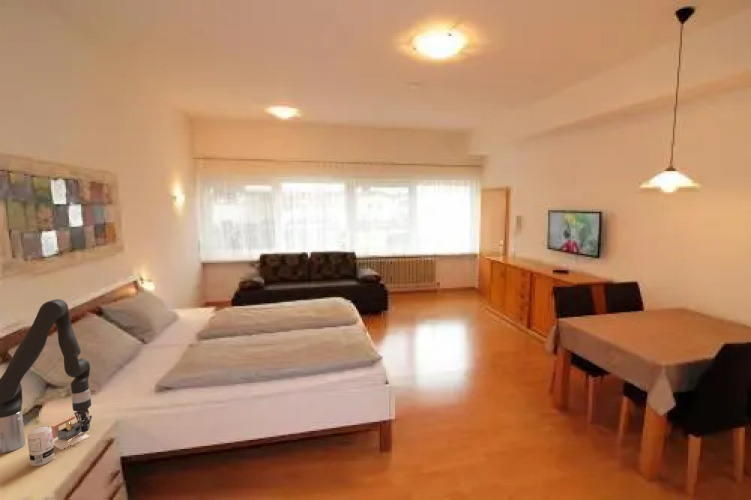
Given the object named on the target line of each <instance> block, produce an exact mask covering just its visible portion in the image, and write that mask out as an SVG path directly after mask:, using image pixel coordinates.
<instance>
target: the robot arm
mask: <svg viewBox="0 0 751 500" xmlns="http://www.w3.org/2000/svg"><path fill="white" fill-rule="evenodd" d="M54 324H55V327H56V331H57V342H58V347H59V348H60V351H61V353H62V357H63V365H64V372H65V374H66V376H68V377H70V378H73V379H72V381H71V382H70V389H71V390H70V391H71V395H70V396H71V397H70V398H71V405H72V411H73V412H74V416H75V419H76V422H78V423H80V425H81V431H82V433H84V434H85V433H86V432H88V431H89V428H88V427H87V424H89V423H90V424H91V420H92V418H93V416H92V415H89V414H90V411H89V409H90V407H92V400H91V399H92V398H91V391H90V386H89V377H90V372H91V371H90V370H91V365H90V362H89V360H88V359H86V358H79V355H80V354H82V353H81V348H80V345H79V343H78V339H77V338H76V335H75V331H74V328H73V325H72V321H71V316H70V310H69V306H68V304H67V301H65V300H63V299H59V298H56V299H51V300H48V301H45V303H43V304H42V305H41V306H40V307H39V310H38V311H37V314H36V316H35V318H34V320H33V323H32V325H31V327H29V329H28V331H27V333H26V334H25V335H24V337H23V338H22V340H21V341H20V343H19V344H18V347H17V348H16V350H15V351H14V353H13V355H12V357H11V358H10V361H9V363H8V365H7V367H6V369H5V371H4V373H3V374H2V376H1V377H0V454H5V453H10V452H13V451H17V450H18V449H20V448H22V447H23V446H24V445H25V444H26V437H25V428H24V427H25V426H24V419H23V417H24V416H23V410H22V409H23V407H22V405H23V388H22V382H21V381H22V379H23V378H24V376H25V375H26V374H27V373H28V371H30V369H31V367H32V366H34V364H35V363H36V361H37V360H38V358H39V357H40V355H41V353H42V352H43V350H44V348H45V346H46V344H47V340H48V335H49V332H50V330H51V328H52V327H53V326H54Z"/></svg>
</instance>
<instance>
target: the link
mask: <svg viewBox="0 0 751 500" xmlns="http://www.w3.org/2000/svg"><path fill="white" fill-rule="evenodd" d="M71 425H72V429H71V430H69V431H67V428H66V426H65V427H63V428H62V429H59V431H58V439H60V440H66V441H68V440H69V439H71V438H73V437H75V436H76V435H78V434H79V433H80V432H82V431H81V425H80V423H78V421H76V422H74V423H71ZM87 427H88V429H89V428H91V422H90V423H89V424H87ZM82 433H83V432H82Z"/></svg>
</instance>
